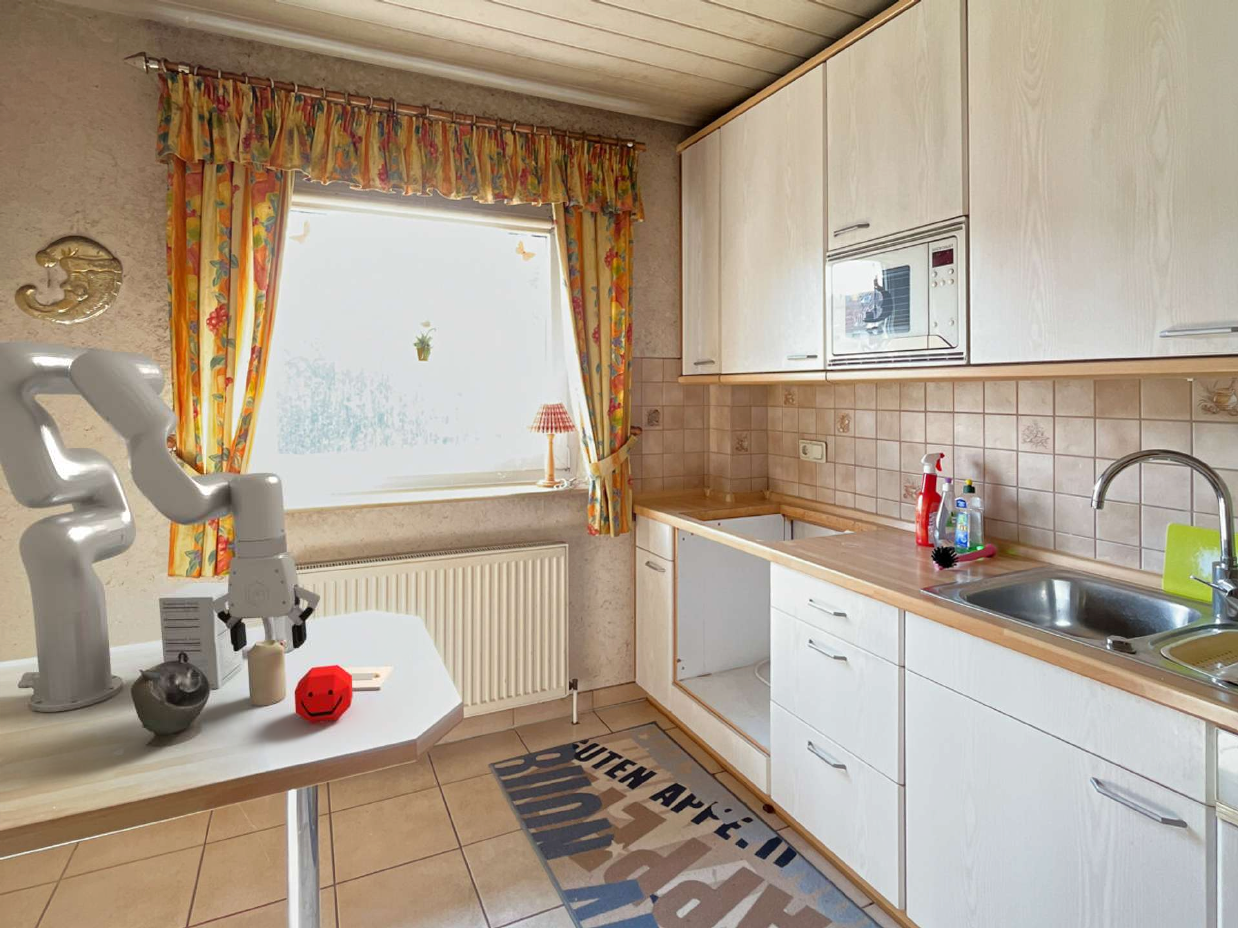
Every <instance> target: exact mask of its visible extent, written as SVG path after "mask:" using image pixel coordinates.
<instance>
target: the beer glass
mask: <svg viewBox="0 0 1238 928" xmlns="http://www.w3.org/2000/svg"><path fill="white" fill-rule="evenodd" d="M261 620H262V621H261V622H262V624H263V628H264V635H265V636H264V641H265V640H275V641H276V642H278V643H279V644H280V645H282V646H283V647H284V654H285V653H289V652H293V651H294V650H295V649H297V648H293V639H292V626H293V625H294V622H293V621H292V620H291V619H290V618H289V617H288V616H287V615H286V616H282V617H268V618H261Z"/></svg>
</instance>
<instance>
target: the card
mask: <svg viewBox="0 0 1238 928" xmlns="http://www.w3.org/2000/svg"><path fill="white" fill-rule="evenodd" d="M341 668H342V669H344V670H345V671H346V672H348V673H349V674H350V675H352V691H372V690H373V691H375V690H376V691H377V690H382V688H383V687H384V685H385V683H386V681H387V680H388V679H389V677H390V676H391V674H392V673H393V671H394V670H395V666H394V665H393V666H363V667H362V666H359V667H357V666H356V667H355V666H353V667H352V666H350V667H341Z"/></svg>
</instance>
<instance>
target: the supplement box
mask: <svg viewBox="0 0 1238 928" xmlns="http://www.w3.org/2000/svg"><path fill="white" fill-rule="evenodd" d="M227 593H228V582H189V583H187V584H184V585H183V586H180V587H179V588H177V589H175V590H173V591H171V592H169V593H167V594H164V595H163V596H161V597H159V599H158V604H159V615H160V616H159V617H160V629H161V631H160V632H161V642H162V643H161V644H162V655H163V658H162V659H163V663H164V662H167V661H173V660H178V655H179V653H181V652H184V653H186V655H187V656H188V658H189V660H188V661H187V662H188V663H190V664H192V665H194V666H196V667H197V668H198V669H200V670H201V671H202V672H203V673H204V675H205V676H206V677H207V679H208V681H209V685H210V690H219V689H220V688H222V687H223V685H225V684H226V683H227V682H228V681H230V680H231V679H232V678H233V677H234V676H235V675H236V674H238V673H239V672H240V671H241V670H242V669H243V668H244V664H243V663H244V662H243V660H244V659H243V648H242V649H240V650H239V651H235V652H234V650H233V645H232V644H231V636H230V629H229V628H227V627H226V624H225V623H224V622H223V621H222V620H220V619H219V618H218V616H217V615H218V614H217V613H216V612H215V611H214V609H213V608H212V606H211V602H213V601H215V600H216V599H218V598H220V597H222V596H224V595H225V594H227ZM225 606H226V609H228V610H229V608H228V602H226V603H225Z"/></svg>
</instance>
